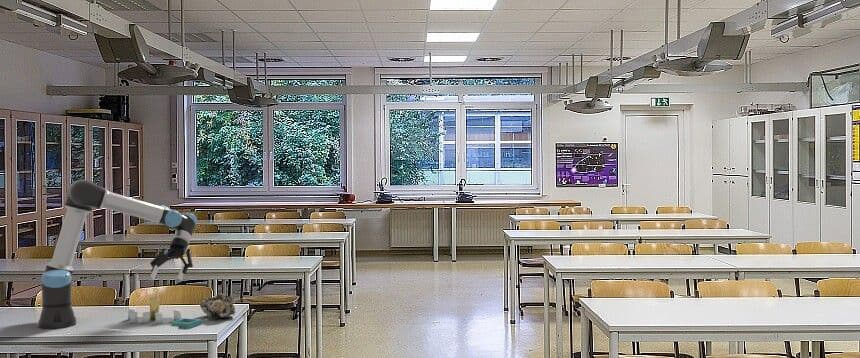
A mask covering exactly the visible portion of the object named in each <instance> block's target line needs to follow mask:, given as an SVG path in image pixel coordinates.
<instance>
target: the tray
mask: <svg viewBox="0 0 860 358" xmlns="http://www.w3.org/2000/svg"><path fill="white" fill-rule="evenodd" d="M183 318H184V317H183ZM202 322H203V319H200V318H187V317H185V318H184V319H180V320H177V321H174V322H171V326H175V327H179V329H191V328H195V327H197V326H201V325H203V323H202Z"/></svg>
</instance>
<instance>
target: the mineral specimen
mask: <svg viewBox="0 0 860 358" xmlns="http://www.w3.org/2000/svg"><path fill="white" fill-rule="evenodd" d="M198 305H199V307H200V309H201V311H202V312H203V313H204V314H206V315H207V317H208V318H209V319H212V320H214V319H219V318H222V319H224V318H225V319H226V318H228V317H229V316H235V314H236V308H235V305H234V297H232V296H231V295H226V294H225V293H219V294H218V295H215V296H211V297H210V296H209V297H206V298H203V299H202V300H201V302H200V303H199V304H198Z"/></svg>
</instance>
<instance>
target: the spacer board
mask: <svg viewBox="0 0 860 358" xmlns="http://www.w3.org/2000/svg"><path fill="white" fill-rule="evenodd" d="M127 315H128V316H127V317H128V319H124V320H123V321H122V320H121V321H119V322H118V324H131V325H132V324H133V325H139V324H140V325H164V326H169V325H171V322H174V321H177V320H180V319H184V317H183V318H182V309H174V310H173V317H164V313H163V312H162V311H159V312H158V313H155V321H151V320H150V311H145V312H142V316H138V311H136V308H128V309H127ZM171 326H172V325H171Z"/></svg>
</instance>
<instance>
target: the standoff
mask: <svg viewBox="0 0 860 358" xmlns="http://www.w3.org/2000/svg"><path fill="white" fill-rule="evenodd" d="M149 312H150V320H151V321H155V313H158V312H160V296H150V297H149Z"/></svg>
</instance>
